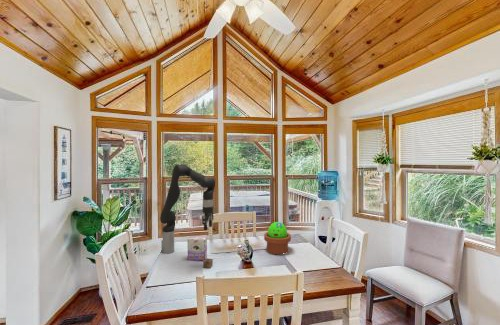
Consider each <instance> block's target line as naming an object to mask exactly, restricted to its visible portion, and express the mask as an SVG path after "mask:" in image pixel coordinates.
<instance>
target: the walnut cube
mask: <svg viewBox="0 0 500 325" xmlns="http://www.w3.org/2000/svg"><path fill="white" fill-rule="evenodd" d="M213 260H214V259H213V258H208V257H207V258H206V259H205V260H204V261H202V267H203V268H202V269H207V270H208V269H211V268H212V267H213Z"/></svg>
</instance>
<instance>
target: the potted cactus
mask: <svg viewBox="0 0 500 325" xmlns="http://www.w3.org/2000/svg"><path fill="white" fill-rule="evenodd" d="M263 235H264V237H263V239H264V241H265V242H266V251H268V252H267V253H269V254H271V253H272V254H271V255H275V254H283V253H286V252H287V251H289V243H290V242H291V241H292V235H291V234H290V233H289V232H288V231H287V227H286V225H285V224H284V223H283V222H280V221H273V222H271V224H270V225H269V226H268V230H267V232H265V233H264V234H263ZM287 253H288V252H287ZM287 253H286V254H287ZM283 255H284V254H283Z"/></svg>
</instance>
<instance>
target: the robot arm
mask: <svg viewBox="0 0 500 325" xmlns="http://www.w3.org/2000/svg"><path fill="white" fill-rule="evenodd" d="M171 174H172V175H171V179H170V185H169V188H168V192H167V195H166V199H165V202H164V206H163V207H162V210H161V213H160V215H159V216H160V218H159V219H160V223H161V224H165V225H164V226H163V227H162V240H161V247H160V248H161V253H163V254H172V253H174V252H175V228H176V213H175V212H174V211H173V210H172V208H174V206H175V205H176V203H177V202H178V201H179V198H180V195H181V188H180V186H179V179H180V177H189V178H190V179H191V180H192V181H193V182H195V183H196V184H198V185H199V186H200V187H201V188H205V189H206V190H204V191H203V192H202V213H203V214H204V215H202V217H201V222H202V223H201V225H203V230H204V231H207V230H208V227H209V228H212V227H213V221H214V191H215V187H216V180H215V178H214V177H210V176H209V177H206V176H205V175H203V174H202V173H199V172H197V171H195V170H193V169H192V168H191V167H189V166H188V165H187V164H175V165H174V166H173V169H172V173H171Z"/></svg>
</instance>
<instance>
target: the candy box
mask: <svg viewBox="0 0 500 325" xmlns="http://www.w3.org/2000/svg"><path fill="white" fill-rule="evenodd" d="M206 258H208V237H206V236H205V237H203V236H202V237H200V236H190V237H189V238H187V261H195V262H196V261H198V262H203V261H204V260H205V259H206Z"/></svg>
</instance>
